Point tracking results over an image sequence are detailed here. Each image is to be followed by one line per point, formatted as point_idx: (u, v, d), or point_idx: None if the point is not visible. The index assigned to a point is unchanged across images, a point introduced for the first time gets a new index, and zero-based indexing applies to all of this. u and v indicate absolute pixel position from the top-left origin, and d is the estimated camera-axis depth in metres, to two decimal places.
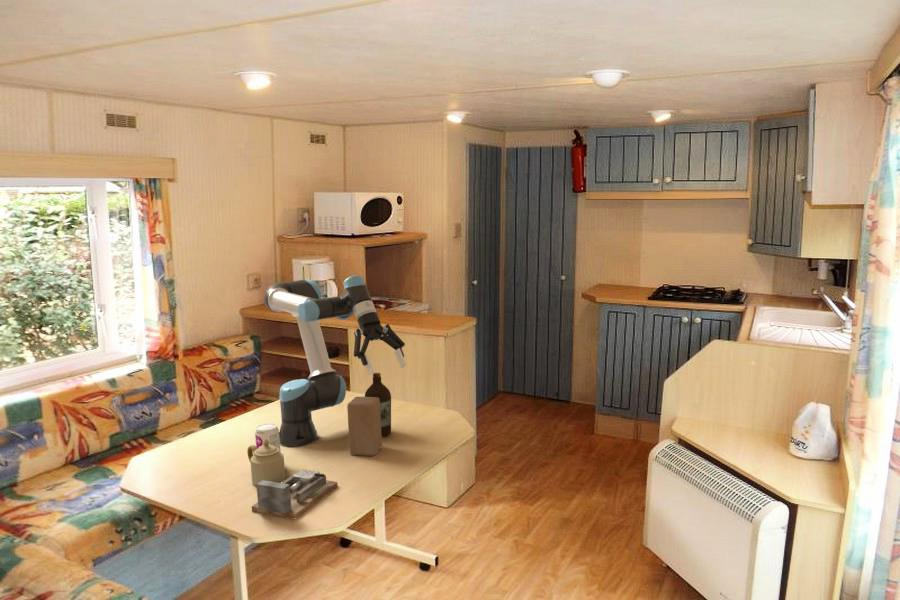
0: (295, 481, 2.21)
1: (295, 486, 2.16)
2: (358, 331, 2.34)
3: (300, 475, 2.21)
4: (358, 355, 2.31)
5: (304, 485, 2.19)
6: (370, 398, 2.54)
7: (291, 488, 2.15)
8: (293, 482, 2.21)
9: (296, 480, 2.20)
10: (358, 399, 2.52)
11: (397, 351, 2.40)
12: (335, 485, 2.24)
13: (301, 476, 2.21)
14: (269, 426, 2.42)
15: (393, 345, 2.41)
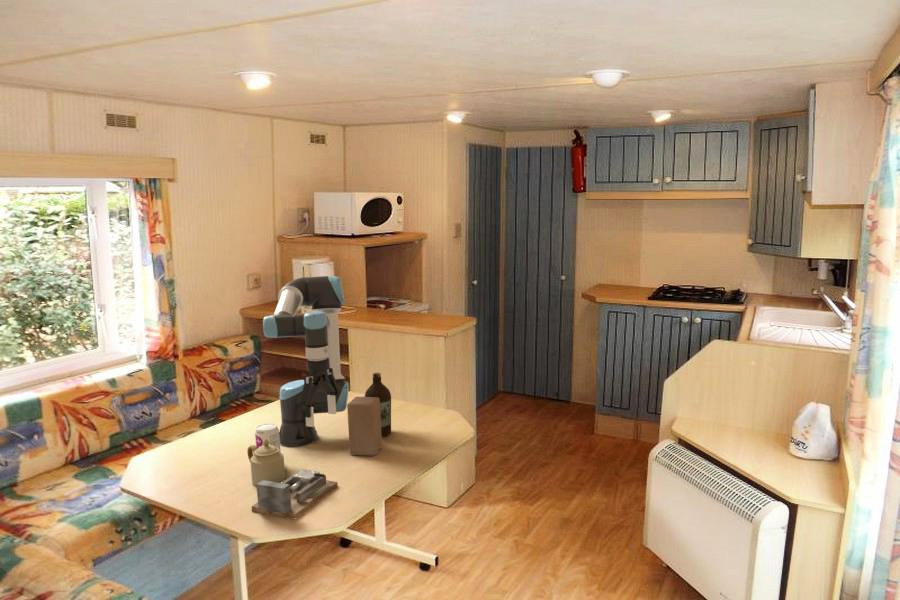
0: (295, 481, 2.21)
1: (295, 486, 2.16)
2: (311, 380, 2.20)
3: (300, 475, 2.21)
4: (305, 407, 2.19)
5: (304, 485, 2.19)
6: (370, 398, 2.54)
7: (291, 488, 2.15)
8: (293, 482, 2.21)
9: (296, 480, 2.20)
10: (358, 399, 2.52)
11: (331, 397, 2.33)
12: (335, 485, 2.24)
13: (301, 476, 2.21)
14: (269, 426, 2.42)
15: (329, 391, 2.32)
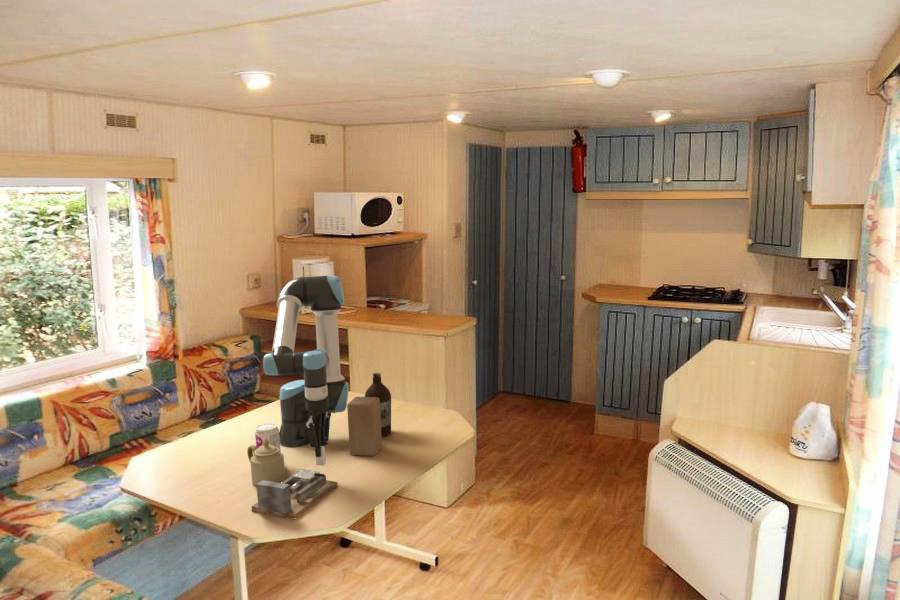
0: (295, 481, 2.21)
1: (295, 486, 2.16)
2: (311, 426, 2.22)
3: (300, 475, 2.21)
4: None
5: (304, 485, 2.19)
6: (370, 398, 2.54)
7: (291, 488, 2.15)
8: (293, 482, 2.21)
9: (296, 480, 2.20)
10: (358, 399, 2.52)
11: None
12: (335, 485, 2.24)
13: (301, 476, 2.21)
14: (269, 426, 2.42)
15: (320, 437, 2.29)
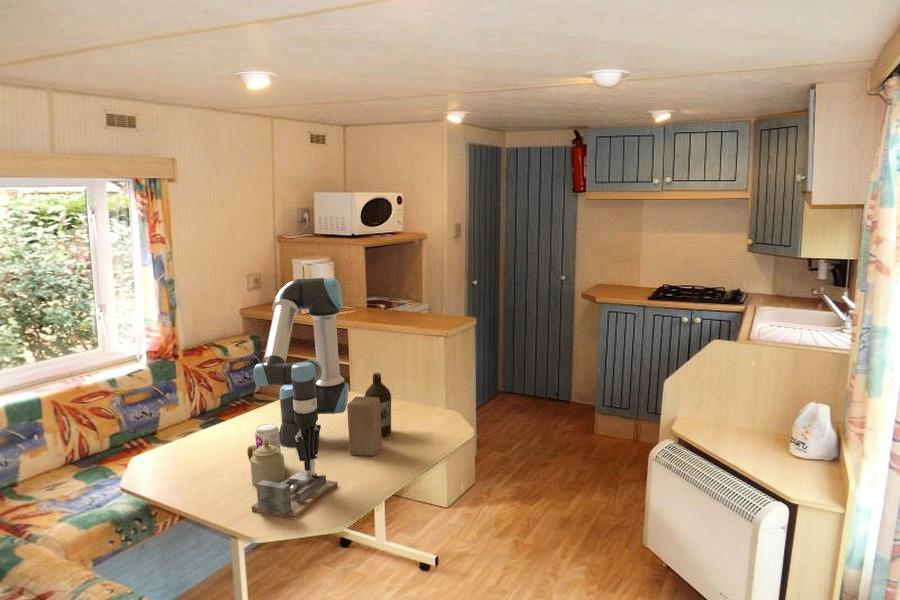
0: (292, 483, 2.19)
1: (292, 488, 2.15)
2: (300, 439, 2.17)
3: (297, 477, 2.20)
4: (304, 461, 2.21)
5: (301, 487, 2.18)
6: (370, 398, 2.54)
7: None
8: (290, 484, 2.20)
9: (293, 482, 2.19)
10: (358, 399, 2.52)
11: None
12: (335, 485, 2.24)
13: (298, 477, 2.19)
14: (269, 426, 2.42)
15: (310, 451, 2.24)
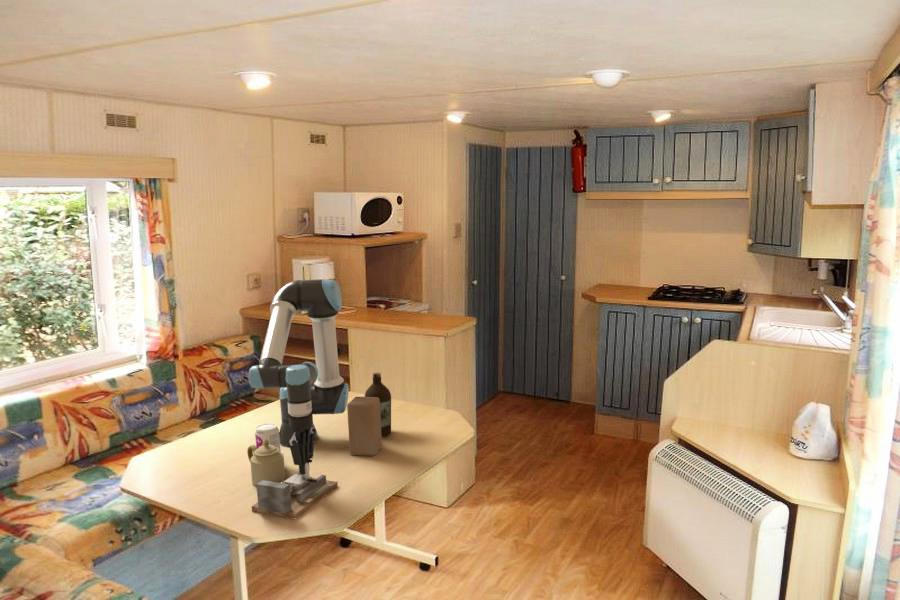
0: None
1: None
2: (295, 443, 2.14)
3: (292, 481, 2.17)
4: (299, 465, 2.18)
5: (296, 491, 2.15)
6: (370, 398, 2.54)
7: None
8: None
9: None
10: (358, 399, 2.52)
11: None
12: (335, 485, 2.24)
13: (293, 481, 2.17)
14: (269, 426, 2.42)
15: (305, 454, 2.21)
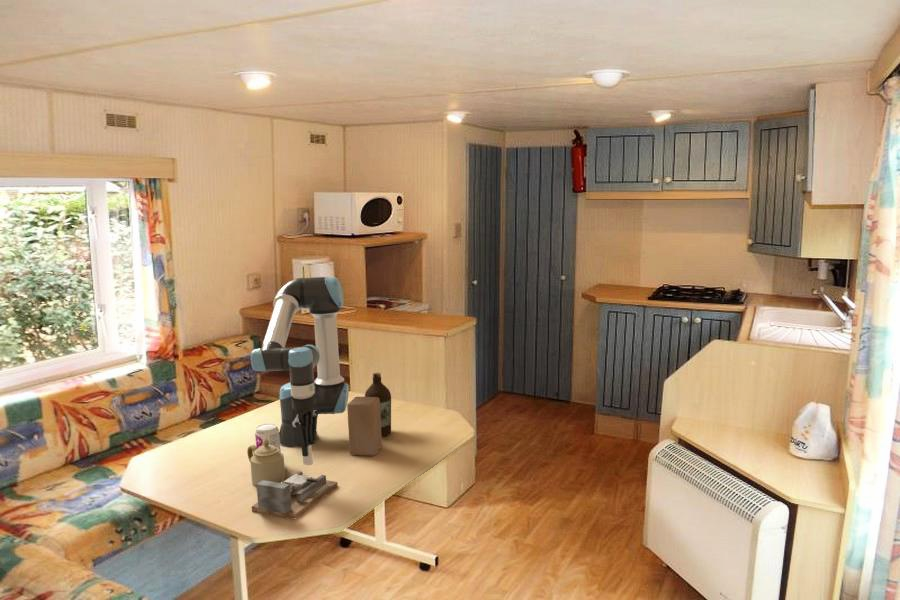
0: None
1: None
2: (298, 425, 2.15)
3: (292, 481, 2.17)
4: (302, 446, 2.20)
5: (296, 491, 2.15)
6: (370, 398, 2.54)
7: None
8: None
9: None
10: (358, 399, 2.52)
11: None
12: (335, 485, 2.24)
13: (293, 481, 2.17)
14: (269, 426, 2.42)
15: (307, 436, 2.22)
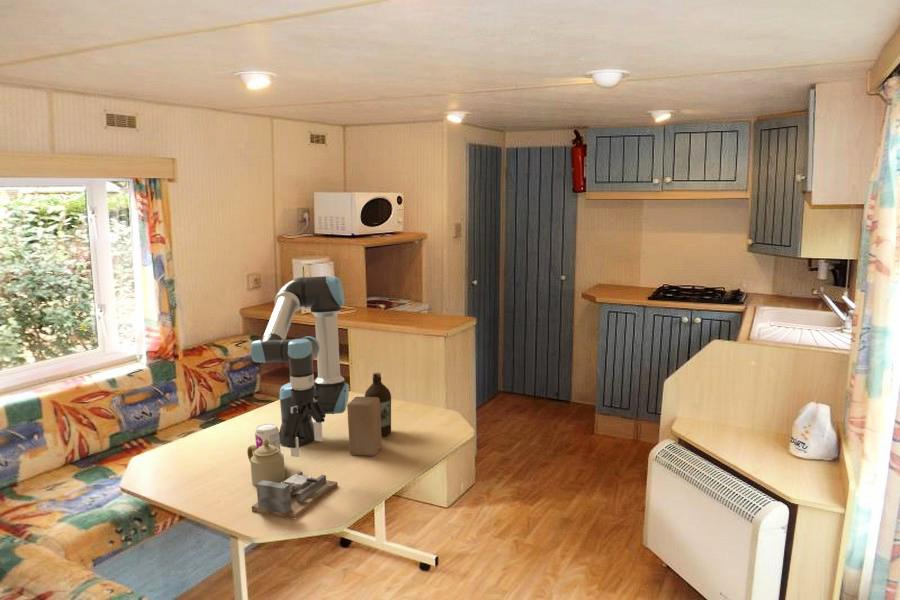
0: None
1: None
2: (295, 410, 2.15)
3: (292, 481, 2.17)
4: (289, 438, 2.15)
5: (296, 491, 2.15)
6: (370, 398, 2.54)
7: None
8: None
9: None
10: (358, 399, 2.52)
11: (318, 425, 2.29)
12: (335, 485, 2.24)
13: (293, 481, 2.17)
14: (269, 426, 2.42)
15: (316, 418, 2.28)
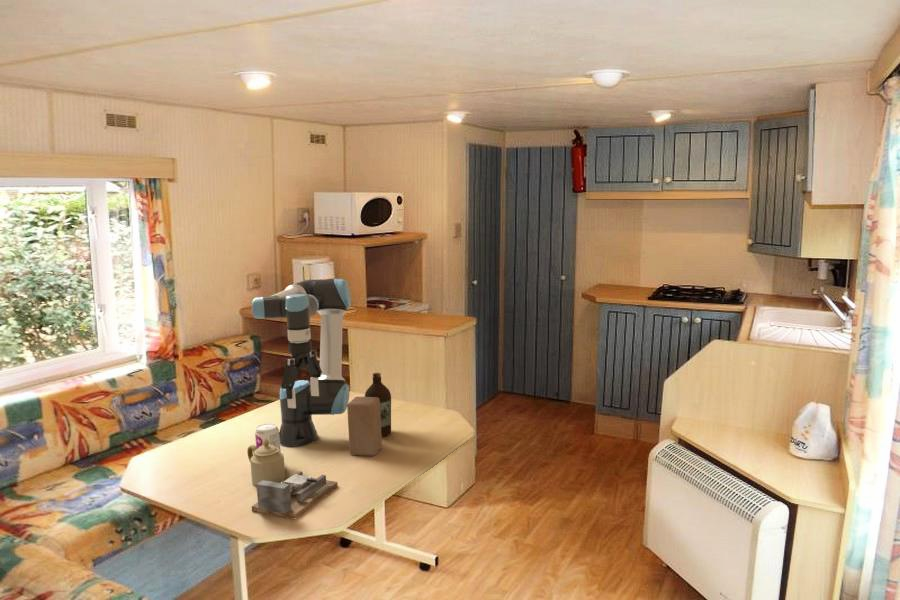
0: None
1: None
2: (292, 362, 2.21)
3: (292, 481, 2.17)
4: (286, 389, 2.21)
5: (296, 491, 2.15)
6: (370, 398, 2.54)
7: None
8: None
9: None
10: (358, 399, 2.52)
11: (314, 380, 2.35)
12: (335, 485, 2.24)
13: (293, 481, 2.17)
14: (269, 426, 2.42)
15: (312, 373, 2.34)
